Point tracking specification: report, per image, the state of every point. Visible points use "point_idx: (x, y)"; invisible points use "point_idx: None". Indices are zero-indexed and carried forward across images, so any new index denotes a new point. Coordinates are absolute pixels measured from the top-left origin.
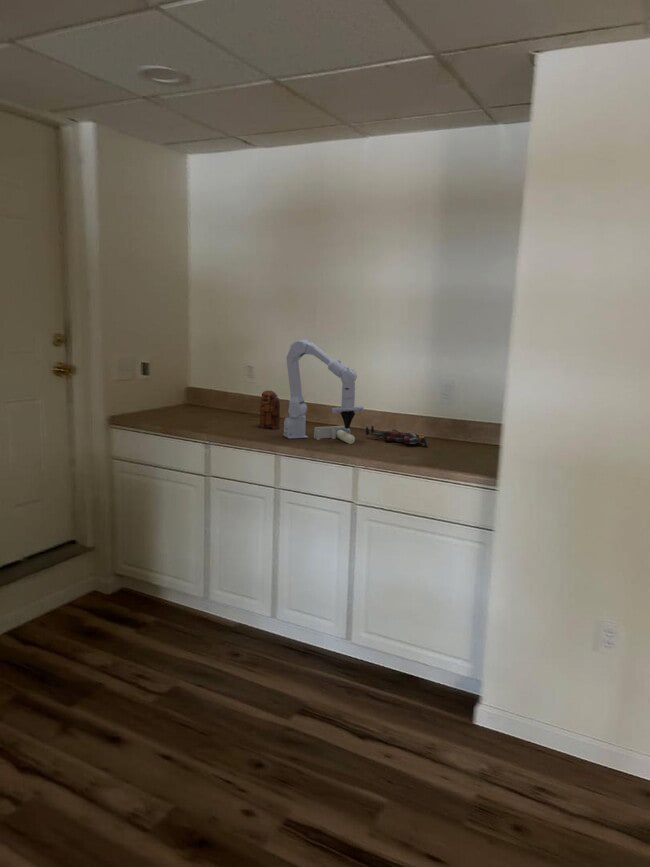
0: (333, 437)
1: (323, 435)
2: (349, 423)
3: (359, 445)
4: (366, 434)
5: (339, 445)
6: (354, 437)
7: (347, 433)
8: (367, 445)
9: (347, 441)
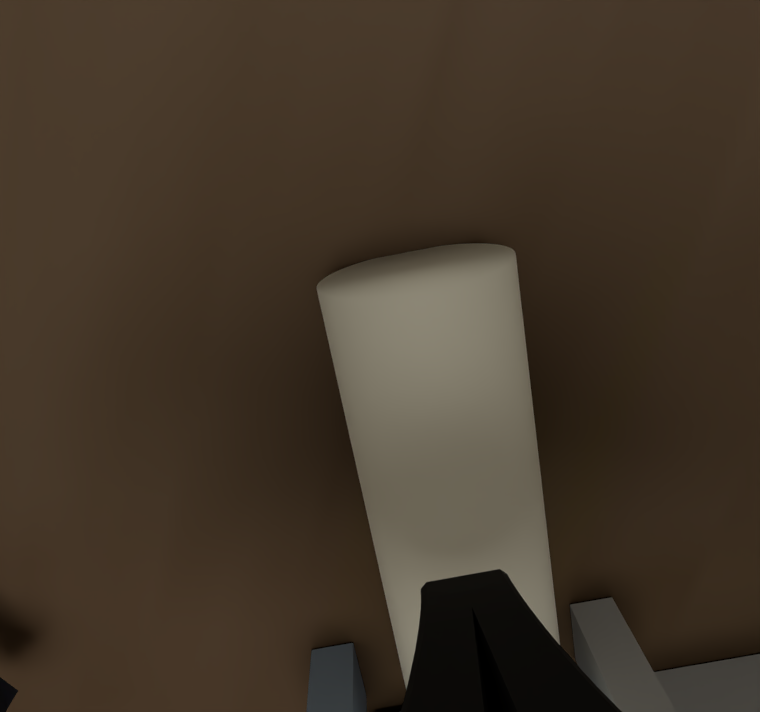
0: (613, 616)
1: (758, 693)
2: (454, 671)
3: (266, 62)
4: (7, 687)
5: (682, 95)
6: (329, 294)
7: (458, 479)
8: (90, 48)
9: (485, 247)
